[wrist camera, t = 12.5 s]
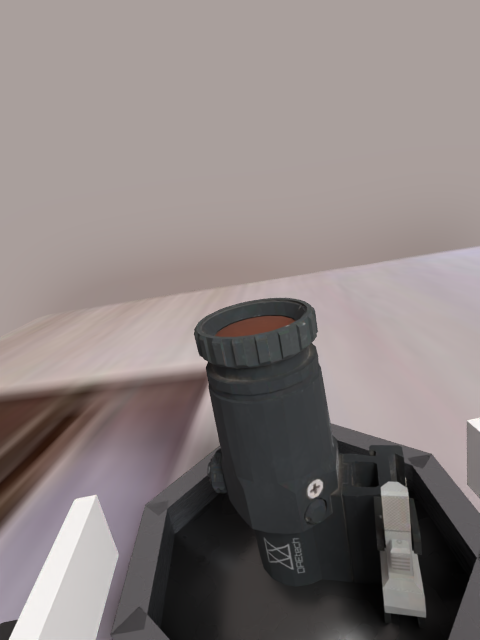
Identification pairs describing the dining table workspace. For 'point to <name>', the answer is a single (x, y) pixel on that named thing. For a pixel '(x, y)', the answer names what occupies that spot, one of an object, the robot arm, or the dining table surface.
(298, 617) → the dark grey octagonal bowl
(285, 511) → the scope
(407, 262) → the dining table surface
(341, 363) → the dining table surface
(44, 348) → the dining table surface
